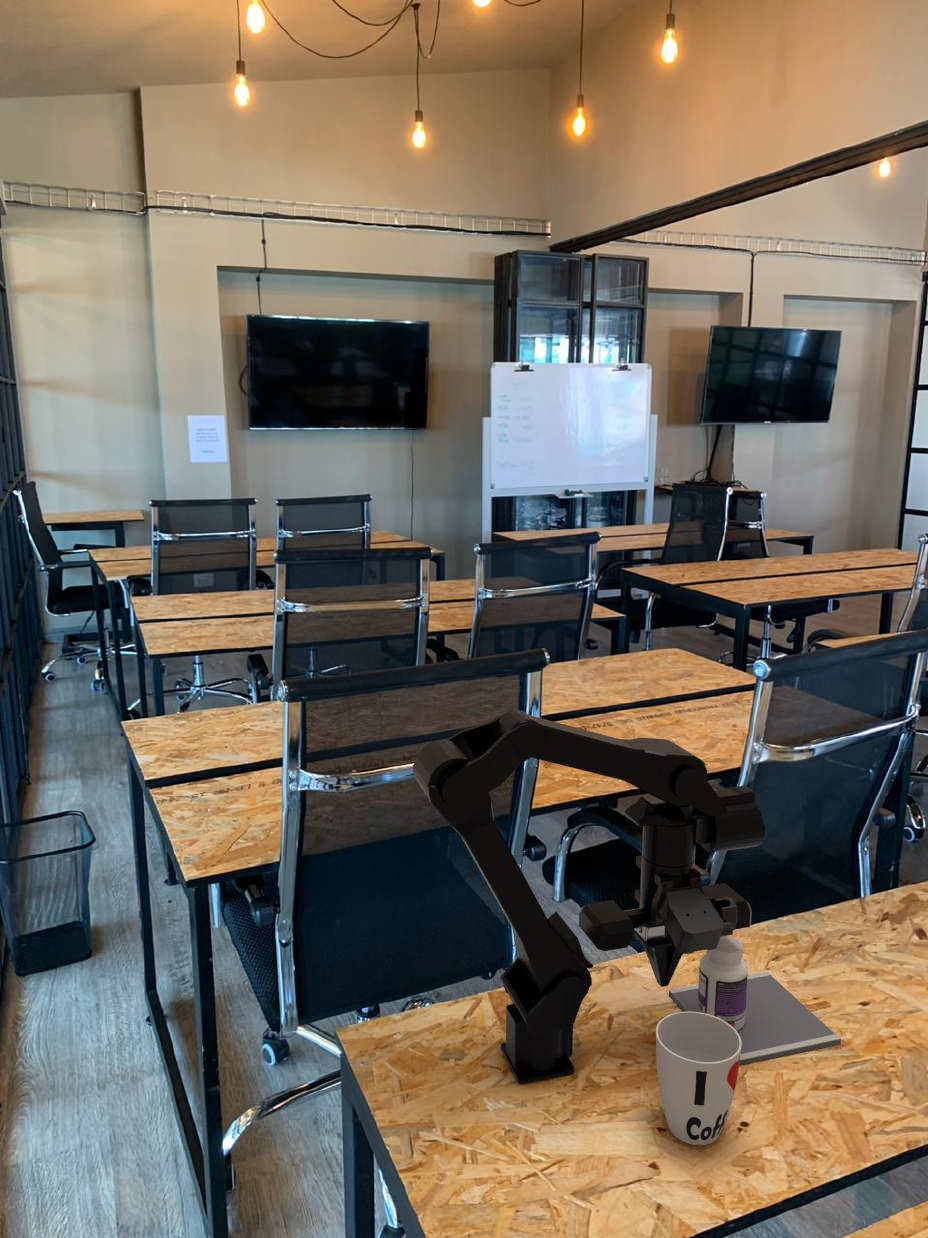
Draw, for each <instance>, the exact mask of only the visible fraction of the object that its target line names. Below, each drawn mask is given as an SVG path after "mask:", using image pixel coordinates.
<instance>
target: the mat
mask: <svg viewBox="0 0 928 1238" xmlns="http://www.w3.org/2000/svg"><path fill="white" fill-rule="evenodd" d="M698 986H699V983H698V984H697V983H696V984H693V985H687V986H681V987H676V988H671V989H668V996H669V997H670V998H671V999H672V1000H673V1002H674V1003H675V1004H676V1005H677V1006H678V1008H679V1009H680V1010H681V1012H686V1011H691V1012H698V1010H697V1009H698ZM737 1032H738V1034H739V1036H740V1038H741V1042H742V1045H741V1053H740V1061H739V1066H743V1065H747V1064H748V1065H749V1064H753V1063H758V1062H763V1061H767V1060H772V1059H776V1058H781V1057H786V1056H790V1055H795V1054H800V1053H805V1052H808V1051H813V1050H814V1051H815V1050H819V1049H823V1048H827V1047H833V1046H836V1045H841V1042H842V1038H841V1037H840V1036H839V1035H838V1034H837V1033H835V1032H834V1031H833V1030H832V1029H830V1028H829V1027H828V1026H827V1024H825V1023H824V1022H823V1021H822V1020H821V1019H819V1017H817V1016H816V1015H815V1014H814V1013H813V1012H812V1011H811V1010H810V1009H809V1008H808V1007H807V1006H805V1005H804V1004H803V1003H802V1002H801V1001H800V1000H799V999H798V998H796V997H795V996H794V995H793V994H792V993H791V992H790V991H789V990H788V989H787V988H786V987H785V986H783V985H782V984H781V983H780V982H779V981H778V980H777V979H775V977H773V976H772V974H771V973H770V972H769V971H764V972H763V971H762V972H757V973H753V974H748V976H747V993H746V1014H745V1023H744V1026H743V1027H742V1028H741V1029H740V1030H738V1031H737Z"/></svg>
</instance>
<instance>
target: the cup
mask: <svg viewBox="0 0 928 1238" xmlns="http://www.w3.org/2000/svg"><path fill="white" fill-rule="evenodd" d="M741 1045H742V1042H741V1038H740V1036H739V1034H738V1032H737V1031H736V1030H735V1029H734V1028H733V1027H732V1026H731V1025H730V1024H728V1023H727V1022H725V1021H723V1020H722V1019H720V1018H717V1017H715V1016H712V1015H709V1014H705V1013H700V1012H691V1011H686V1012H683V1011H678V1012H674V1013H673V1012H672V1013H671V1014H668V1015H666V1016H664V1017H663V1018H661V1019H660V1020H659V1022H658V1023H657V1025H656V1027H655V1049H656V1050H655V1051H656V1052H655V1053H656V1055H655V1056H656V1057H655V1058H656V1074H657V1079H658V1080H657V1081H658V1088H659V1089H658V1090H659V1095H660V1096H659V1097H660V1102H661V1106H662V1109H663V1113H664V1116H665V1120H666V1123H667V1127H668V1128H669V1131H670V1132H671V1134H672V1135H674V1137H675V1138H677V1139H678V1140H680V1141H682V1142H683V1143H686V1144H689V1145H693V1146H707V1145H710V1144H713V1143H715V1142H716V1141H717V1140H718V1139H719V1137H720V1134H721V1133H722V1130H723V1128H724V1126H725V1124H726V1122H727V1119H728V1117H729V1115H730V1111H731V1107H732V1103H733V1098H734V1096H735V1091H736V1087H737V1084H738V1075H739V1068H740V1067H739V1061H740V1053H741Z"/></svg>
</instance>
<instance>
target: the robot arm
mask: <svg viewBox="0 0 928 1238" xmlns="http://www.w3.org/2000/svg"><path fill="white" fill-rule="evenodd" d="M530 759H535V760H540V761H544V762H547V763H551V764H556V765H558V766H563V767H568V768H572V769H576V770H578V771H579V770H580V771H582V772H583V771H584V772H588V773H592V774H596V775H600V776H604V777H606V778H607V777H608V778H612V779H615V780H618V781H619V780H621V781H623V782H626V783H627V784H630V785H632V786H634V787H635V788H637V789H639V790H641V791H643V792H645V793H646V794H648V795H650V796H652V797H654V798H656V799H658V800H659V801H653V802H650V801H649V800H648V799H647V798H645V797H644V796H642V795H641V796H640V797H639V798H637V800H636V801H635V802H634V803H633V804H631V805H629V806H628V807H627V808H626V809H625V810H624V815H625V816H626V817H628V818H629V819H630V820H631V821H632V822H633V823H634V824H636V826H638V827H640V828H642V845H641V847H642V848H641V849H642V851H641V855H637V856H636V857H635V858H636V859H635V865H636V867H638V868H639V869H640V889H636V890H634V900H635V901H637V902H638V903H639V908H636V909H635V908H634V909H633V908H632V909H627V910H623V908H621V907H620V906H619V905H618V904H617V902H616V901H615V900H613V899H611V900H610V899H609V900H605V901H603V900H602V901H598V902H591V903H585V904H584V905H583V906H582V907H581V908H580V911H579V914H578V927H579V928H580V929H581V930H582V932H584V934H585V935H586V936H587V938H588V939H589V940H590V942H591V943H592V944H593V945H594V946H595V948H596V949H597V950H600V951H602V952H608V951H614V950H621V949H625V948H626V949H627V948H628V947H629V946H630V945H631V944H632V942H633V941H635V938H636V939H637V941H639V942H640V943H641V944H642V945H641V946H643V948H644V950H645V954H646V957H647V959H648V962H649V965H650V966H651V970H652V972H653V975H654V978H655V980H656V982H657V984H658V985H659V987H660V988H663V987H668V986H669V985H670V982H671V981H672V979H673V976H674V974H675V972H676V969H677V967H678V965H679V962H680V961H681V959H682V957H683V955H691V954H693V953H695V952H701V951H707V949H708V950H714V949H716V948H717V946H718V943H719V940H720V937H722V936H732V935H733V934H734V931H735V930H740V929H745V928H746V929H747V928H750V927H751V925H752V916H753V915H752V913H753V912H752V911H753V910H752V908H751V906H750V903H749V902H748V901H747V899H745V898H744V897H742V896H741V895H740V893H738V892H736V891H735V890H734V889H733V888H732V887H730V886H729V885H728V884H726V883H725V882H724V883H717V884H711V885H710V884H709V885H704V886H703V885H702V883H703V878H702V876H701V875H702V873H701V872H700V871H699V870H698V869H696V868H695V865H696V864H695V863H696V862H695V861H696V860H695V859H696V844H697V845H700V846H701V847H702V848H703V850H704V851H706V852H707V853H709V854H711V853H718V852H719V853H720V852H725V851H733V850H740V849H741V850H742V849H748V848H754V847H758V846H761V844H762V843H763V841H764V838H765V833H766V825H765V823H764V820H763V819H764V818H763V815H762V812H761V810H760V807H759V806H758V804H757V802H756V792H755V791H754V790H752V789H751V788H749V787H747V786H746V785H739V786H738V785H737V786H733V787H731V788H727V789H720V790H718V789H717V790H715V789H714V788H713V787H712V784H710V783H709V781H708V780H709V774H708V769H707V766H706V763H705V762H704V760H702V759H701V758H699V757H698V756H696V755H695V754H693V753H691V752H690V751H688V750H686V749H685V748H683V747H682V746H680V745H678V744H677V743H676V742H674V741H672V740H670V739H664V738H655V737H654V738H652V737H651V738H649V737H648V738H647V737H637V738H632V739H626V738H625V739H624V738H617V737H614V736H609V735H605V734H601V733H597V732H594V731H590V730H587V729H583V728H580V727H576V726H572V725H569V724H568V725H567V724H564V723H560V722H557V721H553V720H548V719H545V718H541V717H538V716H534V715H531V714H529V713H527V712H525V711H523V710H521V709H513V710H510V711H506V712H504V713H502V714H500V715H499V716H497V717H495V718H493V719H492V720H489V721H486V722H484V723H480V724H477V725H474V726H471V727H467V728H464V729H463V730H460V731H458V732H456V733H455V734H453V735H452V736H449V737H448V738H446V739H438V740H433V741H431V742H429V743H427V744H425V746H423V747H422V748H421V749H420V750H419V752H418V753H417V755H416V756H415V760H414V763H413V764H412V773H413V776H414V779H415V781H416V783H417V784H418V785H419V786H420V788H421V790H422V792H424V794H425V795H426V797H427V798H428V799H429V801H430V802H431V804H432V806H433V807H434V808H435V809H436V810H437V811H438V813H439V814H440V815H441V817H443V819H444V820H445V821H446V822H447V824H449V826H450V827H451V828H452V829H453V830H454V831H455V832H456V834H458V835H459V837H460V838H461V839H462V842H464V845H465V846H466V848H467V850H468V852H469V854H470V855H471V857H472V859H473V861H474V862H475V864H476V866H477V868H478V870H479V871H480V873H481V875H482V876H483V879H484V881H485V882H486V884H487V886H488V888H489V889H490V891H491V892H492V893H491V894H492V895H493V897H494V898H495V900H496V902H497V903H498V905H499V907H500V909H501V910H502V912H503V914H504V916H505V918H506V920H507V921H508V923H509V925H510V927H511V930H512V934H513V941H514V947H515V949H516V952H517V955H518V956H517V958H516V959H514V961H513V962H512V963H511V964H510V965H509V967H507V968H506V970H505V971H504V972H503V973H502V974H501V976H500V982H501V984H502V987H503V989H504V991H505V993H506V994H507V995H508V997H509V999H510V1000H511V1001H512V1003H511V1004H507V1005H506V1006H505V1041H503V1042H501V1043H500V1050H501V1052H502V1054H503V1057H504V1058H505V1059H506V1062H507V1064H508V1066H509V1068H510V1069H511V1071H512V1074H513V1075H514V1077H515V1079H516V1082H518V1083H519V1084H526V1083H532V1082H535V1081H537V1082H538V1081H542V1080H546V1079H551V1078H556V1077H560V1076H566V1075H570V1074H574V1073H575V1065H574V1064H573V1062H572V1061H571V1059H570V1058H572V1056H573V1054H574V1053H573V1051H574V1024H575V1021H576V1019H577V1016H578V1014H579V1011H580V1008H581V1005H582V1003H583V1000H584V999H585V998H586V996H587V994H589V992H590V991H589V990H590V988H591V987H592V985H593V978H592V975H591V973H590V971H589V969H592V968H593V969H594V964H593V963H592V962H591V960H590V959H589V957H588V956H587V955H586V954H585V952H583V951H584V950H583V948H582V946H581V943H580V939H579V938H578V936H577V935H576V934H575V932H574V931H573V930H572V929H571V927H570V926H569V924H568V923H567V922H566V921H565V920H564V919H563V916H561V915H560V914H559V912H558V911H555V912H553V913H552V914H551V915H550V916H549V917H548V916H546V913H545V912H544V910H543V908H542V905H540V902H539V900H538V899H537V897H536V896H535V893H534V892H533V890H532V888H531V887H530V884H529V883H528V881H527V879H526V876H525V874H524V873H523V872H522V869H521V868H520V866H519V863H518V862H517V861H516V858H515V857H514V854H513V853H512V851H511V849H510V847H509V846H508V843H507V841H506V840H505V838H504V836H503V835H502V832H501V831H500V829H499V827H498V826H497V823H496V820H495V815H494V808H493V802H492V799H491V794H490V792H492V791H493V790H494V789H497V788H498V787H500V786H501V785H502V784H503V783H504V782H506V780H508V778H509V777H510V776H511V775H512V774H513V773H514V772H515V771H516V770H517V769H518V768H519V766H520V765H522V764H523V763H525V762H527V761H528V760H530Z"/></svg>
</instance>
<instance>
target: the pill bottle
mask: <svg viewBox="0 0 928 1238" xmlns="http://www.w3.org/2000/svg"><path fill="white" fill-rule="evenodd" d="M743 952H744V945H743V943H742V942H741V941H740V940H739V939H737V938H736V937H734V936H732V935H728V936H722V937H720V940H719V943H718V946H717V948H716V949H714V950H708V949H707V950H706V953H705V954H703V955H702V957H701V958H700V960H699V966H698V967H699V969H698V984H699V986H698V1009H697V1010H698V1012H700V1013H705V1014H709V1015H712V1016H715V1017H717V1018H720V1019H722V1020H723V1021H725V1022H727V1023H728V1024H730V1025H731V1026H732V1027H733V1028H734V1029H735V1030H736V1031H738V1030H740V1029H741V1028H742V1027H743V1026H744V1023H745V1014H746V993H747V976H748V975H749V974H748V973H749V971H748V965H747V963H746V962H745V960H744V959H743V955H744V954H743Z"/></svg>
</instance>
